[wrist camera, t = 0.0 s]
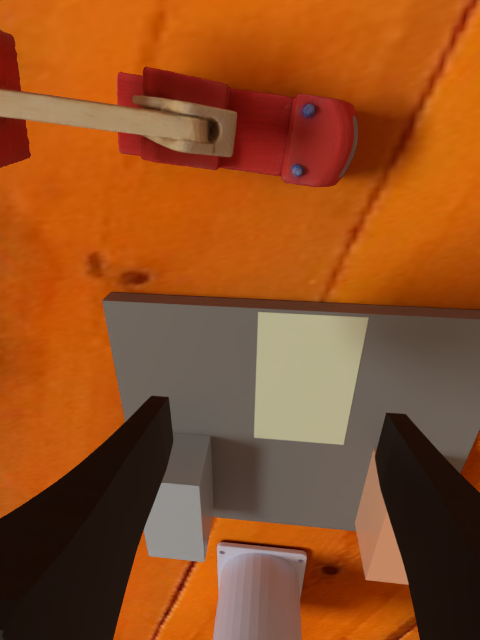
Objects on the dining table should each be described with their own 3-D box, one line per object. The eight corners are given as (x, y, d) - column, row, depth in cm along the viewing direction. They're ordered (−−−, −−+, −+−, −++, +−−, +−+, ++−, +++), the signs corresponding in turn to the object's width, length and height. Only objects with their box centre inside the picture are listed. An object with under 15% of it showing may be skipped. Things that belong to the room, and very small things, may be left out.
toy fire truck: (336, 182, 18) (387, 233, 9) (65, 140, 18) (-124, 153, 10) (355, 104, 16) (438, 79, 8) (58, 60, 17) (-176, -11, 8)
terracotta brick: (408, 528, 28) (427, 586, 24) (354, 523, 28) (365, 579, 24) (436, 453, 24) (463, 510, 20) (373, 448, 24) (389, 503, 21)
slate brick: (213, 509, 29) (204, 562, 25) (164, 504, 29) (148, 556, 26) (210, 435, 25) (199, 486, 22) (154, 431, 25) (133, 480, 22)
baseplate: (426, 523, 29) (432, 539, 28) (146, 496, 31) (141, 510, 30) (513, 311, 20) (526, 322, 19) (110, 292, 22) (101, 301, 21)
